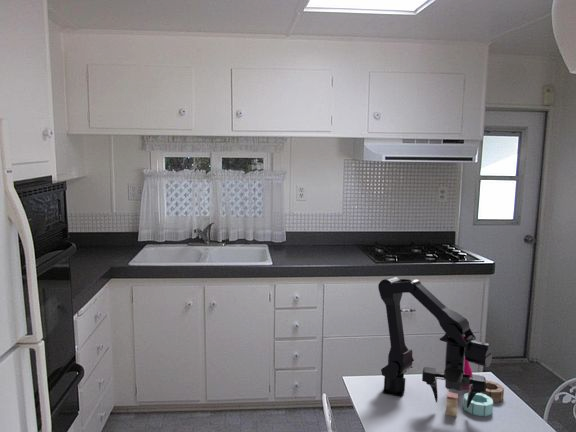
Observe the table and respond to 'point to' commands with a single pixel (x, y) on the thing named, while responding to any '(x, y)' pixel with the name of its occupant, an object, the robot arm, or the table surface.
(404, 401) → the table surface
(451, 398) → the pink two-tone square block
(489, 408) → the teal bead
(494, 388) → the brown segmented ring
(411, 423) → the table surface
